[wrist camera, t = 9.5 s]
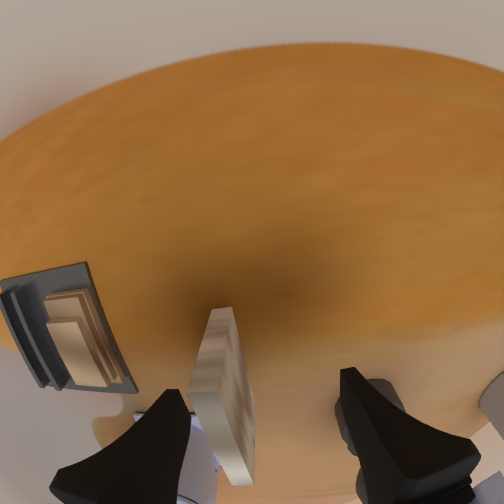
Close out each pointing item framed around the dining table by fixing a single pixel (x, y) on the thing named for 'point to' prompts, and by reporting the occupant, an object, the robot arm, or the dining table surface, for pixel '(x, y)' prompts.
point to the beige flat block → (225, 397)
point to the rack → (37, 334)
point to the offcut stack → (82, 339)
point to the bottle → (494, 403)
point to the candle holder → (388, 393)
